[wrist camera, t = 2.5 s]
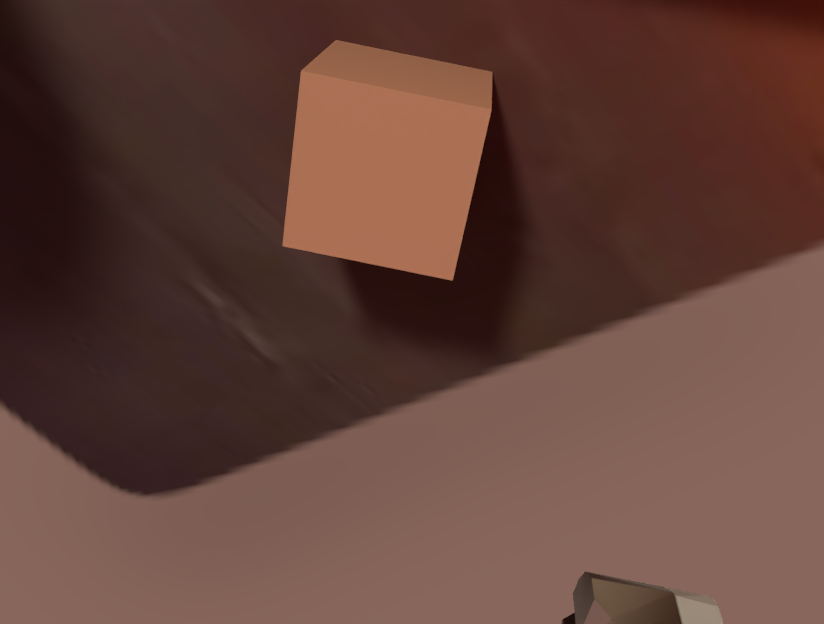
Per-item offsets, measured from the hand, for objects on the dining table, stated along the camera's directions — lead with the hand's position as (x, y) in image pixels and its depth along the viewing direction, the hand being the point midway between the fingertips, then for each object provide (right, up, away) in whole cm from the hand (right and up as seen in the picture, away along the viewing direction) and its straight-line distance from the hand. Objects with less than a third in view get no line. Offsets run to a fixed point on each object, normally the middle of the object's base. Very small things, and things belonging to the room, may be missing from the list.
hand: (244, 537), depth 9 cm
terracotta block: (+2, +9, +16) cm, 18 cm away
